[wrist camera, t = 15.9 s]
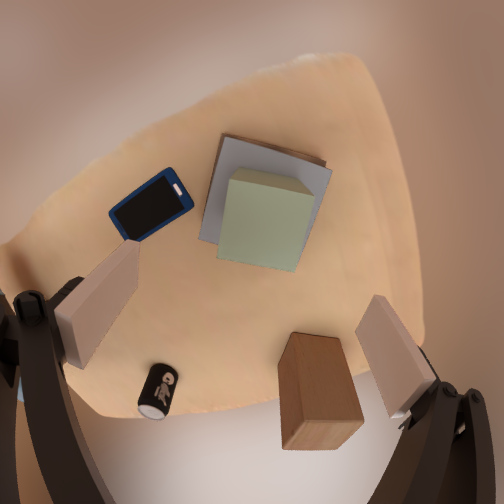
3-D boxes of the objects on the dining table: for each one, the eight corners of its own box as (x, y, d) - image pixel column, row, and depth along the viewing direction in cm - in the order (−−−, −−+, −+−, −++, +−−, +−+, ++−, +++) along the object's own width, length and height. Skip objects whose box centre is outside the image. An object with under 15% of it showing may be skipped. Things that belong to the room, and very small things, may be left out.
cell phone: (196, 205, 40) (195, 206, 39) (131, 247, 43) (129, 248, 42) (171, 164, 38) (170, 165, 37) (108, 211, 41) (106, 212, 40)
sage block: (228, 223, 33) (216, 258, 24) (238, 166, 30) (229, 179, 21) (285, 234, 33) (294, 272, 24) (298, 178, 30) (315, 196, 21)
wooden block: (276, 366, 52) (281, 450, 34) (291, 331, 49) (303, 422, 30) (321, 371, 53) (336, 450, 35) (339, 338, 49) (366, 422, 31)
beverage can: (149, 359, 53) (132, 401, 42) (178, 366, 54) (165, 409, 43) (152, 377, 56) (138, 417, 45) (179, 383, 56) (168, 424, 45)
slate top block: (204, 228, 37) (198, 239, 34) (228, 137, 32) (225, 136, 29) (292, 254, 39) (296, 266, 35) (324, 167, 34) (332, 170, 30)
